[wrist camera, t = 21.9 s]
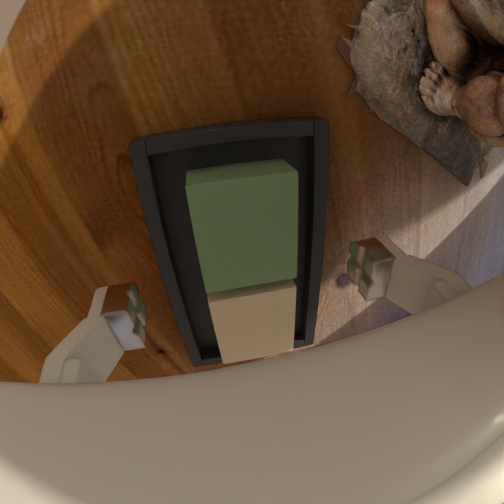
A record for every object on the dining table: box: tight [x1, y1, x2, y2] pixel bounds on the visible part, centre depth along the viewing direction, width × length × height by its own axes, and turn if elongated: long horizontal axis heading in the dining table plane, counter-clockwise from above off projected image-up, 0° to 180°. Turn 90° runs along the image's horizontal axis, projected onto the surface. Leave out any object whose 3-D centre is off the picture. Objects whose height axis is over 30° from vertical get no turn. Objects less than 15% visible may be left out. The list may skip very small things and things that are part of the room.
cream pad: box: [207, 279, 297, 364], centre depth 18 cm, size 5×6×2 cm
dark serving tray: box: [129, 117, 328, 367], centre depth 17 cm, size 10×17×2 cm, turn 4°
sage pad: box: [185, 158, 298, 293], centre depth 15 cm, size 5×6×2 cm
